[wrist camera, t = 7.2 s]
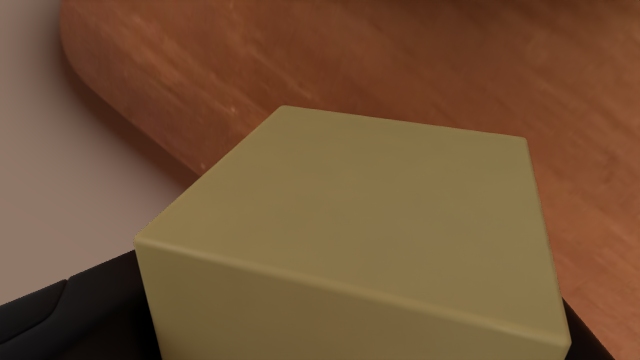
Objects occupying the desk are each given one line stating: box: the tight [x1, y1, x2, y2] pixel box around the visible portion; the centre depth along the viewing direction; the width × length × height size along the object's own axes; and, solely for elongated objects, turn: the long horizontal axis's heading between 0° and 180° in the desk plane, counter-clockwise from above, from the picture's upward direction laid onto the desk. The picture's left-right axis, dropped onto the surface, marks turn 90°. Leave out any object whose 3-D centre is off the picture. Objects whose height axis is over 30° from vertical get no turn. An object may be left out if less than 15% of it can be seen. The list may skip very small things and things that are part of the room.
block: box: [133, 105, 572, 360], centre depth 7 cm, size 4×4×4 cm
